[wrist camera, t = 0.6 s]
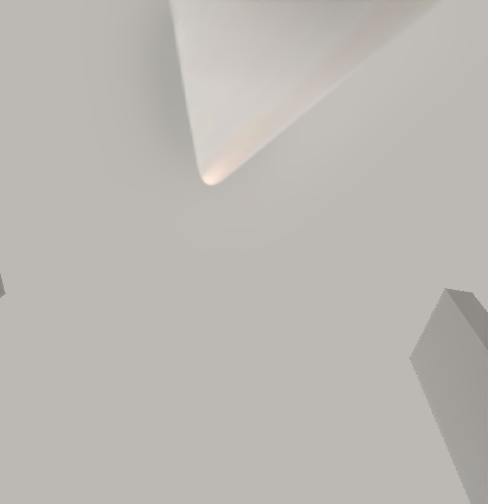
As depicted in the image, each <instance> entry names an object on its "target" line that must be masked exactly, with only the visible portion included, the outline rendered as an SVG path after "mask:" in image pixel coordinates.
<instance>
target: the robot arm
mask: <svg viewBox="0 0 488 504" xmlns="http://www.w3.org/2000/svg"><path fill="white" fill-rule="evenodd" d="M4 294H5V291H4V287H3V284H2V279H1V275H0V298H1V297H2V296H3V295H4ZM410 360H411V363H412V365H413V367H414V370H415V372H416V374H417V377H418V379H419V382H420V384H421V386H422V389H423V391H424V393H425V396H426V398H427V401H428V403H429V406H430V408H431V410H432V413H433V415H434V417H435V420H436V422H437V424H438V427H439V429H440V432H441V434H442V436H443V439H444V441H445V444H446V446H447V448H448V451H449V453H450V455H451V458H452V460H453V463H454V465H455V467H456V470H457V472H458V474H459V477H460V479H461V482H462V484H463V486H464V489H465V491H466V493H467V496H468V498H469V501H470V503H471V504H488V313H487V311H486V310H485V309H484V307H483V306H482V305H481V304H480V302H479V301H478V300H477V298H476V297H475V296H474V295H473V293H471V292H464V291H458V290H452V289H444V291H443V294H442V295H441V297H440V299H439V301H438V303H437V305H436V307H435V309H434V311H433V313H432V315H431V317H430V319H429V321H428V323H427V325H426V327H425V329H424V331H423V333H422V335H421V337H420V339H419V341H418V343H417V345H416V347H415V348H414V350H413V352H412V355H411V357H410Z"/></svg>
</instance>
